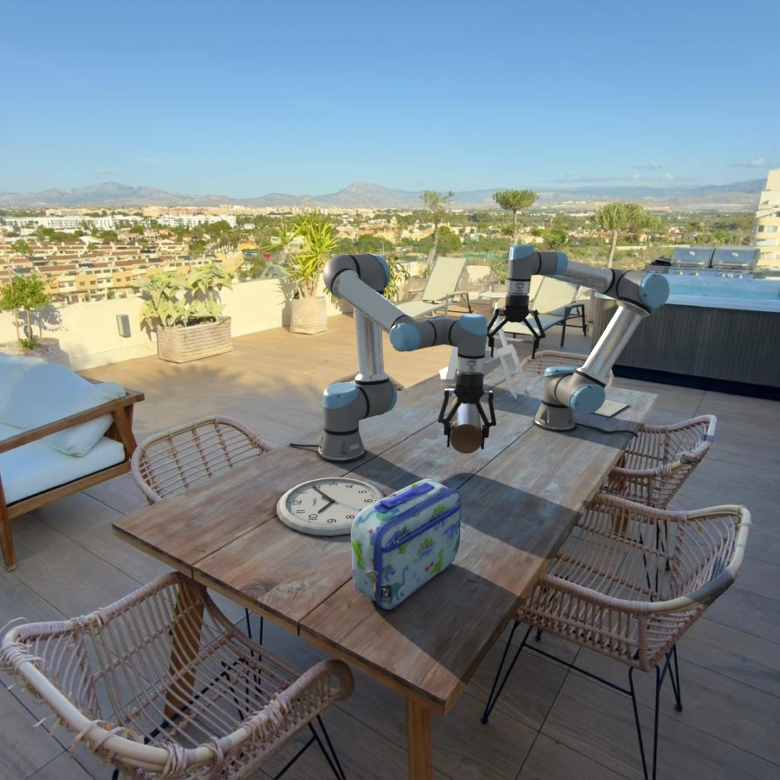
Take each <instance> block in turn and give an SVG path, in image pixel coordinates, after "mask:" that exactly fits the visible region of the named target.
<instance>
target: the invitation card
mask: <svg viewBox="0 0 780 780" xmlns="http://www.w3.org/2000/svg"><path fill="white" fill-rule="evenodd" d="M628 406H629V404H627V403H623V402H618V401H614V400H609V399H606V398H605V401H604V403H603V405H602V406H601V407H600V408H599V409H598V410H597V411H595V412H593V413H592V414H596V415H600V416H604V417H608V418H609V417H611V416H613V415H614V414H616V413H617V412H619V411H621V410H623V409H624V408H626V407H628Z"/></svg>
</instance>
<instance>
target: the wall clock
mask: <svg viewBox="0 0 780 780" xmlns="http://www.w3.org/2000/svg"><path fill="white" fill-rule="evenodd" d="M385 497H386V496H385V494H384V493H383V492H382V491H381V490H380V489H379V488H377V487H376V486H374V485H372V484H371V483H369V482H365V481H362V480H359V479H355V478H349V477H338V476H337V477H335V476H333V477H332V476H331V477H322V478H317V479H312V480H307V481H305V482H302V483H299V484H297V485H295V486H293V487H292V488H290V489H288V490H287V491H286V492H285V493H284V494H283V495H281V496H280V498H279V499H278V502H277V503H276V515H277V517H278V518H279V520H280V521H281V522H282V523H283V524H285V525H286V526H287V527H288V528H290V529H293V530H295V531H297V532H299V533H303V534H308V535H312V536H327V537H328V536H329V537H331V536H332V537H333V536H342V535H350V534H351V529H352V524H353V521H354V519H355V517H356V516H357V514H358V513H359V512H360V511H361V510H362V509H364V508H366V507H367V506H369V505H371V504H374V503H375V502H377V501H379V500H381V499H383V498H385Z"/></svg>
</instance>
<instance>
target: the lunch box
mask: <svg viewBox="0 0 780 780" xmlns="http://www.w3.org/2000/svg"><path fill="white" fill-rule="evenodd" d="M461 499H462V498H461V493H460V491H459V490H458V489H457V488H454V487H451V488H449V487H447V486H446V485H444V484H441V483H440V482H437V481H436V480H434V479H431V478H424V479H421V480H418V481H416V482H414V483H412V484H410V485H408V486H405V487H404V488H401V489H399V490H397V491H395V492H393V493H392V494H389V495H387V496H385V498H383V499H381V500H379V501H377V502H375V503H374V504H371V505H369V506H367V507H366V508H364V509H362V510H361V511H360V512H359V513H358V514H357V516H356V517H355V519H354V521H353V524H352V529H351V533H350V547H351V548H350V552H351V576H352V584H353V588H354V590H356V591H357V592H359V593H360V594H363V595H365V596H367V597H368V598H369V599H371V600H372V601H374V602H376V604H377V606H378V607H379V608H382V609H384V610H386V611H387V610H388V611H390V610H393V609H394V608H396V607H397V606H398V605H400V604H401V603H402V602H403V601H405V600H406V599H407V598H408V597H409V596H411V595H412V594H413V593H415V592H417V590H419V589H420V588H422V587H423V586H424V585H425V584H426V583H428V581H430V580H431V579H432V578H434V577H435V576H438V574H440V573H441V572H443V571H445V570H446V569H447V568H448V567H449V566H451V564H452V563H453V562H454V560H455V558H456V556H457V554H458V551H459V548H460V541H461V522H462V521H461V519H462V515H461V513H462V512H461V510H462V509H461V508H462V506H461V505H462V504H461V503H462V502H461Z"/></svg>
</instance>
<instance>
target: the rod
mask: <svg viewBox="0 0 780 780" xmlns="http://www.w3.org/2000/svg"><path fill="white" fill-rule="evenodd" d="M456 400H457V397H456V396H455V398H454V399H453V400H452V401H451V405H450V409H451V408H452V407H453V405H454V403H455V402H456ZM450 423H451V432H450V445H451V447H452V448H453V449H454V450H455V451H456V452H458V453H460V454H467V455H468V454H472V453H476V451H478V450H479V449H481V444H482V441H483V437H482V423H481V416H480V413H479V411H478V409H477V407H476V405H475V404H463V403H462V404H461V405H460V407H459V408H458V409H457V411H456V413H455V414H454V416H453V418H452V419H451V421H450Z"/></svg>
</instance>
